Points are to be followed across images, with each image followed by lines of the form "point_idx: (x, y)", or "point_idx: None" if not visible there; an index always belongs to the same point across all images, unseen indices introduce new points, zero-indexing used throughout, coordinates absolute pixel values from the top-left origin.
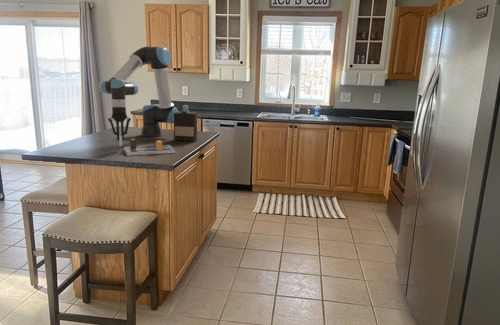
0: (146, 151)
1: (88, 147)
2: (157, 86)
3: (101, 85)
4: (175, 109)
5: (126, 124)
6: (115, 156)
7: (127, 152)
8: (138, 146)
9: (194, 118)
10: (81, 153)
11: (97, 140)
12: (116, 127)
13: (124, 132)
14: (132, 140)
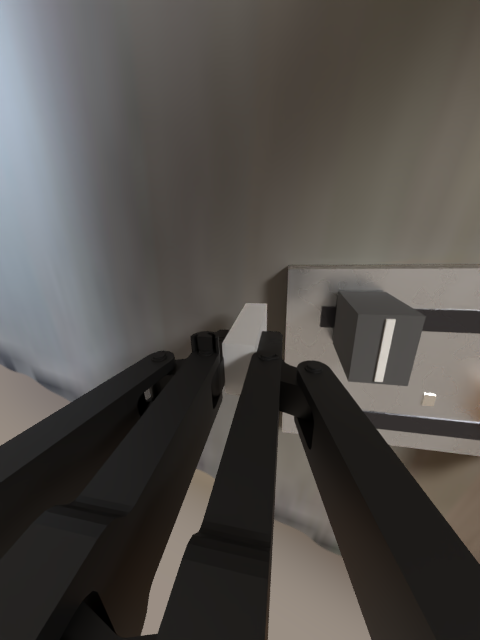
0: (414, 446)
1: (28, 97)
2: None
3: None
4: None
5: (366, 600)
6: (222, 409)
7: (286, 431)
8: (420, 276)
9: None
10: (49, 296)
11: None
12: (143, 424)
13: (291, 412)
14: (365, 380)
